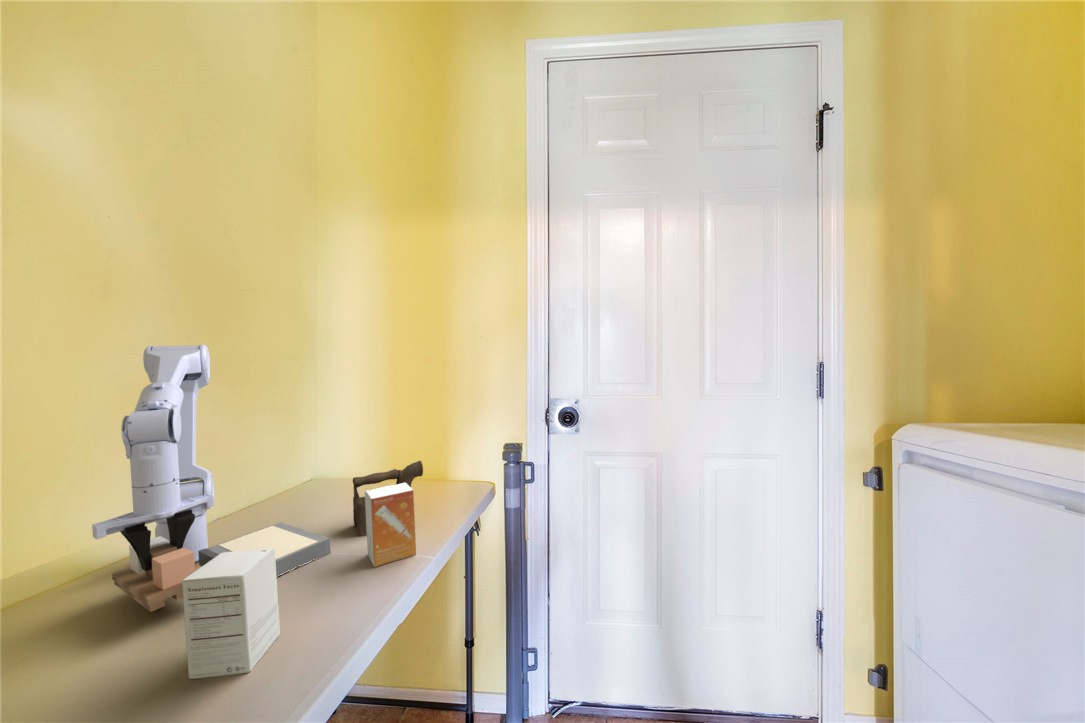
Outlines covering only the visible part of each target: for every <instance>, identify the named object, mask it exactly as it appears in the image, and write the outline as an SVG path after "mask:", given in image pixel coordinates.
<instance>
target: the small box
mask: <svg viewBox="0 0 1085 723" xmlns="http://www.w3.org/2000/svg"><path fill="white" fill-rule="evenodd" d="M414 495H415V492H414V489H413V488H412V486H411V487H410V486H409V485H408V484H407V483H401V484H396V483H395V484H391V485H386V486H381V487H378V488H373V489H368V490H364V497H365V508H366V532H367V535H366V546H367V556H368V558H369V561H370V562H371V564H372V566H373V568H376V567H379V566H381V565H385V564H389V563H392V562H396V561H399V560H402V559H405V558H409V557H412V556H416V555H417V543H416V542H417V539H416V515H415V497H414Z"/></svg>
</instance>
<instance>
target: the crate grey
mask: <svg viewBox="0 0 1085 723" xmlns="http://www.w3.org/2000/svg"><path fill="white" fill-rule="evenodd" d="M165 543H169V540H167V539H165V538H163V537H161V536H159V537H156V538H155V537H153V538H150V548H153V547H156V546H159V545H162V544H165ZM128 548H129V549H128V550H129V561H130V562H129V564H130V567H131V569H132V570H133V571H135V572H136V573H138V574H141V573H144V572H145V571H144V570H143V569H142V568H141V564H140V561H139V559H138V556H137V554H136V552H135V551H134V549H133V547H132V546H131V544H130V545H129V546H128Z"/></svg>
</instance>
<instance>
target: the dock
mask: <svg viewBox="0 0 1085 723" xmlns="http://www.w3.org/2000/svg"><path fill="white" fill-rule="evenodd" d="M271 548H272V549H275V561H276V576H278V575H280V574H282V573H284V572H286V571H288V570H291V569H293V568H295V567H298V566H299V565H302V564H304V563H307V562H309V561H311V560H313V559H316V558H319V557H321V558H323V557H325V556H327V555H330V554H331V538H330V537H327V536H324V535H321V534H318V533H314V532H311V531H309V530H306V529H302V528H299V527H296V526H293V525H291V524H290V525H289V524H287V523H283V522H278V523H274V524H272V525H269V526H266V527H264V528H263V527H262V528H260V529H258V530H255V531H252V532H249V533H246V534H244V535H241V536H238V537H235V538H232V539H229V540H227V541H224V542H221V543H218V544H214V545H213V546H210V547H209V546H208V548H205V549H202V550H199V551H198V555H199V561H198V565H200V566H204V565H205V564H207V563H208V562H209V561H211V560H212V559H214V558H215V557H216V556H218V555H219V554H220V553H224V552H235V551H246V550H256V549H271ZM326 554H327V555H326ZM324 555H325V556H324ZM322 556H323V557H322ZM319 559H320V558H319ZM316 560H317V559H316Z"/></svg>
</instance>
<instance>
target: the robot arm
mask: <svg viewBox="0 0 1085 723" xmlns="http://www.w3.org/2000/svg"><path fill="white" fill-rule="evenodd" d="M142 360H143V368H144V371H145V373H146V374H147V377H148V378H149V379H148V380H149V381H150V383H149V384H148V385H146V386H145V387H143V389H142V390H141V392H140V394H139V398H138V399H137V403H136V405H135V408H134V411H132V412H130V414H129V415H124V417H123V418H122V422H121V428H120V431H121V438H122V442H123V444H124V450H125V456H126V459H129V462H130V463H129V465H130V466H129V467H130V478H131V480H130V481H131V495H132V496H131V497H132V498H131V500H132V511H131V512H128V513H125V514H122V515H119V516H116V517H113V518H110V519H108V520H104V521H101V522H97V523H93V524H92V525H91V530H92V538H94V539H95V540H99V539H103V538H104V539H105V538H106V537H107V536H109V535H113V534H116V533H120V534H121V535H122V536H123V537H124V538H125V540H126V541H127V542H128V544H130V545H131V546H132V547H133V549H134V551H135V552H136V554H137V556H138V559H139V561H140V564H141V568H142V569H143V570H144V571H148V570H151V568H152V561H151V554H150V539H152V538H151V536H152V530H150V529H148V526H146V525H148V524H151V523H154V522H155V524H156V525H155V528H154V538H156V537H159V536H161V537H163V538H165V539H167V540H169V544H171V545H173V546H175V547H177V550H178V549H181V548H186V549H188V550H190V551H193V552H194V558H195V563H196V562H199V555H198V551H199V550H202V549H205V548H209V543H208V542H209V539H208V522H207V521H208V520H207V511H208V510H211V508H212V507H214V506H215V484H214V476H213V473H212V472H211V471H210V470H209V469H207V468H205V467H202V466H200V465H198V464H197V399H198V396H199V393H200V392H199V391H200V390H201V389H202V388H205V387H206V386H208V385H209V382H210V379H211V375H210V374H211V368H210V367H211V358H210V352H209V347H208V346H206V345H205V344H199V345H147V346H146V348H144V350H143V356H142Z"/></svg>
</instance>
